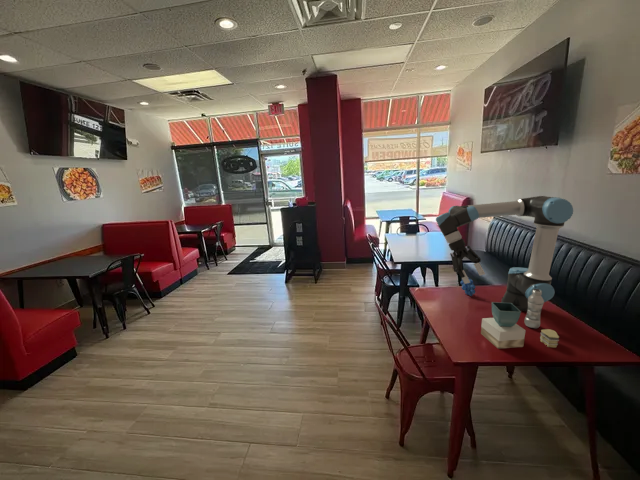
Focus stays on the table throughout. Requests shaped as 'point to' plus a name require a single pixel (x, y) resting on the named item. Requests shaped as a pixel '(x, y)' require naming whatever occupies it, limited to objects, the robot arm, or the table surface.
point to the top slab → (502, 330)
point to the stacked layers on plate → (549, 337)
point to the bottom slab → (502, 343)
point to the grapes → (468, 287)
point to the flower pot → (505, 314)
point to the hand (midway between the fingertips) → (475, 278)
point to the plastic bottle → (534, 309)
